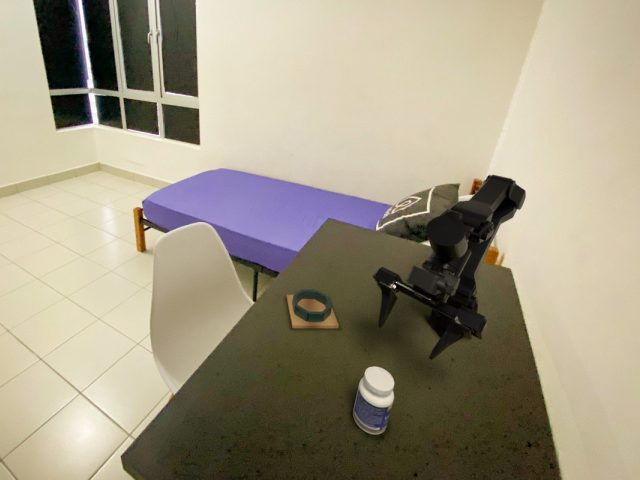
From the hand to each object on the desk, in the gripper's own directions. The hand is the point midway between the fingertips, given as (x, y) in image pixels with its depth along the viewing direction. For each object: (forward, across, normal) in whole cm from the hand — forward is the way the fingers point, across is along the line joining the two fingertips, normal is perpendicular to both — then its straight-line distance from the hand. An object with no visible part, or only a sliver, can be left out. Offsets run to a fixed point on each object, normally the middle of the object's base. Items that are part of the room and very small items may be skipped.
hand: (403, 342), depth 58 cm
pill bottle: (+14, 0, +4) cm, 15 cm away
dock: (+5, -24, +13) cm, 28 cm away
